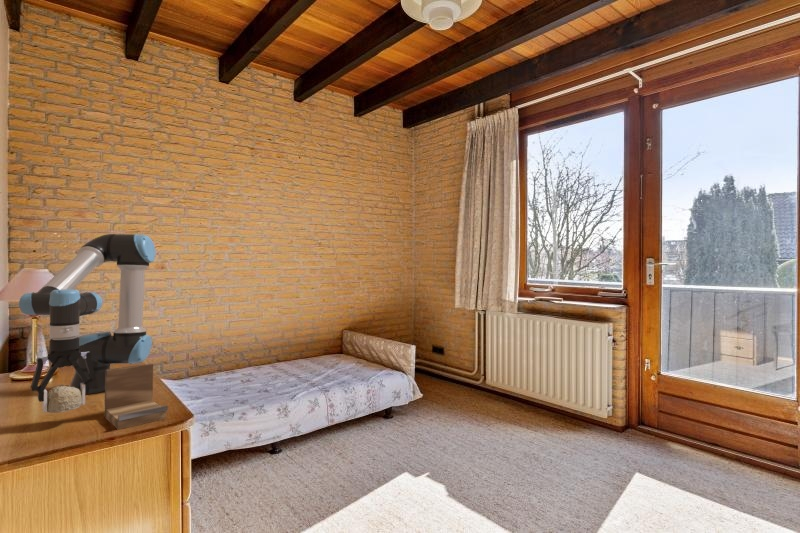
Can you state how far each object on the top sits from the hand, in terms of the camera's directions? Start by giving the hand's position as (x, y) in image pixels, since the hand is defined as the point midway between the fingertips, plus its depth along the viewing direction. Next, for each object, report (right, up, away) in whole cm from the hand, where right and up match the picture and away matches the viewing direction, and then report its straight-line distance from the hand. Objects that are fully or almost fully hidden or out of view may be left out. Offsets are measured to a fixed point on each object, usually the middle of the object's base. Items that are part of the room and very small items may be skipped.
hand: (64, 407), depth 135 cm
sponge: (0, 0, 0) cm, 0 cm away
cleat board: (+19, -6, +6) cm, 21 cm away
